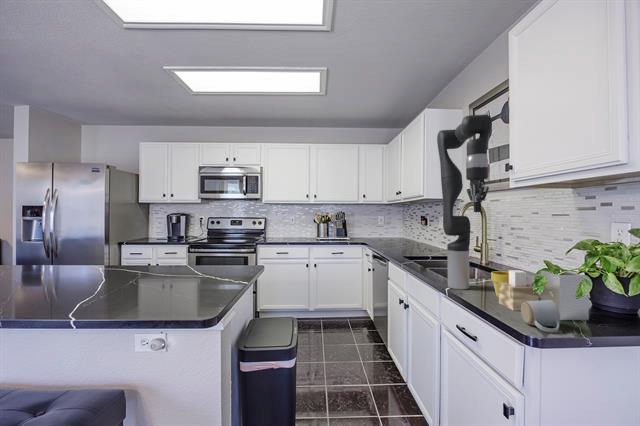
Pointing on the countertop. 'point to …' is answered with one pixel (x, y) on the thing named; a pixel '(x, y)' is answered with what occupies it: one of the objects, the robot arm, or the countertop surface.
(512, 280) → the plug
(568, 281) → the tall grey box
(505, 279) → the plant pot
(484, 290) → the countertop surface
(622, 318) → the countertop surface
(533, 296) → the wooden box
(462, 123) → the robot arm
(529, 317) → the ceramic mug
